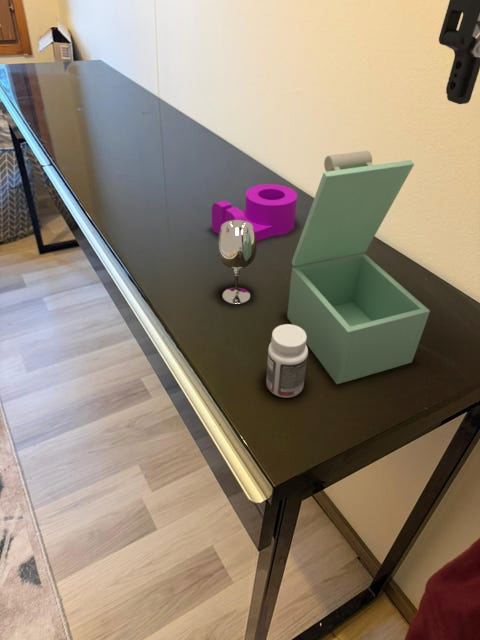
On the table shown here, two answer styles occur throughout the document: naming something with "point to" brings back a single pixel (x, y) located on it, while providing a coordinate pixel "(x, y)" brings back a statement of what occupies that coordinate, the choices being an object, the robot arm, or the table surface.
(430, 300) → the table surface
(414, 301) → the bin
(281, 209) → the tape dispenser
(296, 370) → the pill bottle
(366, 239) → the bin lid
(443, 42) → the robot arm
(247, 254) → the wineglass
